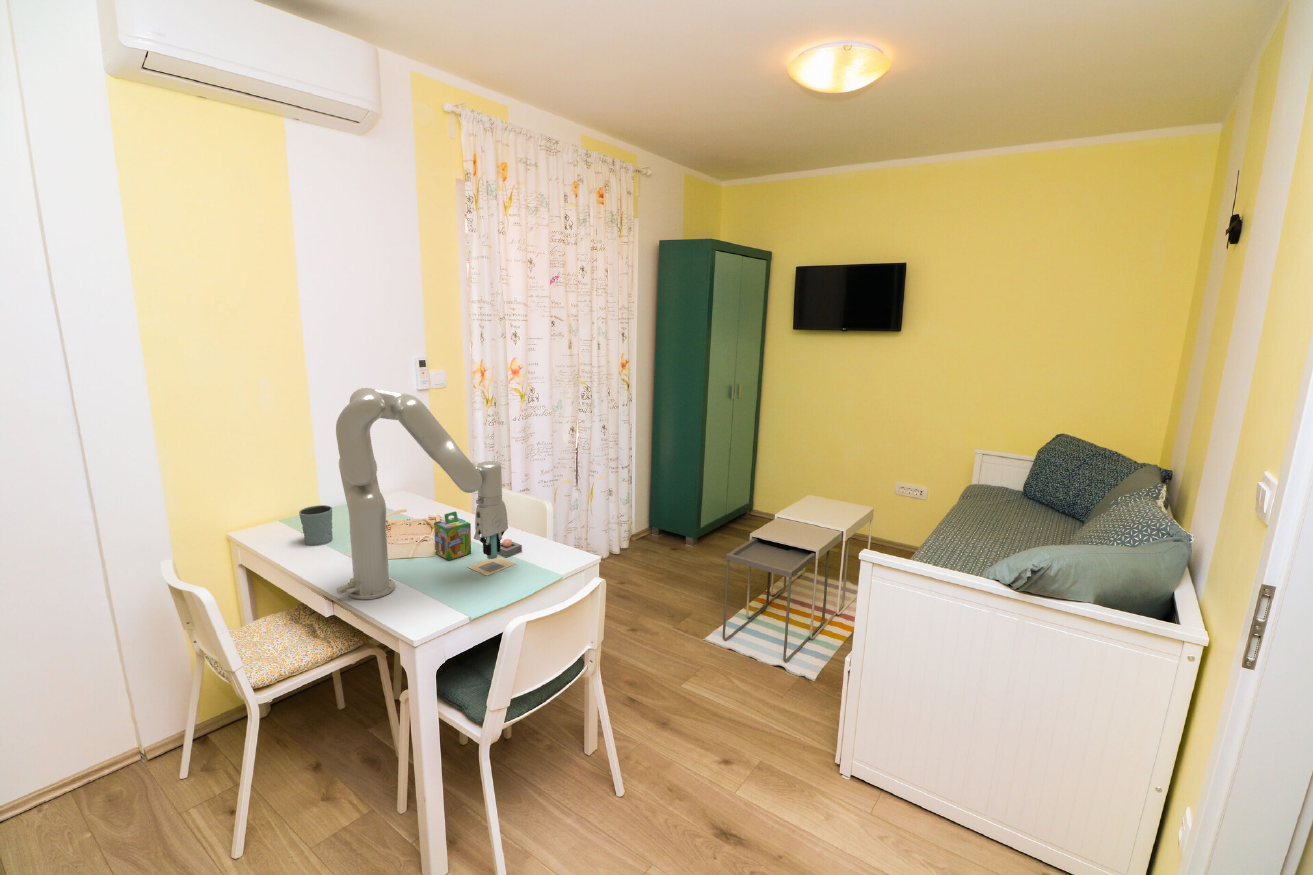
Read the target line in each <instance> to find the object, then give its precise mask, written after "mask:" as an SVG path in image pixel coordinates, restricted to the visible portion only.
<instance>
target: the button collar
mask: <svg viewBox="0 0 1313 875" xmlns="http://www.w3.org/2000/svg"><path fill="white" fill-rule="evenodd" d="M522 552H523V545H522V544H521V543H517V542H514V541H512V547H510V548H504V547H503V541H502V542H500V552H497V556H500V557H502V558H505V559H507V558H509V557H511V556H514V555H517V554H520V553H522Z"/></svg>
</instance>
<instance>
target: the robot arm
mask: <svg viewBox="0 0 1313 875" xmlns="http://www.w3.org/2000/svg"><path fill="white" fill-rule="evenodd" d="M379 419H385V420H393V421H398V422H399V423H400V424H401V425H402V427H404V429H405V430H406V432H407V433H409V434H410V436H411V437H412V438H413V439H414V441H416V443H417V444H418V445H419V446H420V447H421V449H422V450H423V451H424V452H425V453H426V454H427V455H428V457H430V458H431V459H432V460H433V461H434V462H436V464H438V465H439V467H440V468H442V470H443V471H444V472H445V473H446V474H447V475H448V476H449V477H450V479H451V481H452V482H453V483H454V484H455V486H456V487H457V488H459V490H460V491H462V492H464V493H465V494H472V493H475V492H477V499H475V503H476V508H475V520H474V529H475V530H474V531H475V533H474V535H473V539H474V540H476V541H480V543H482V552H483V554H484V555H486V556H487V555H488V556H490V555H491V544H489V539H490V536H492V535H495V534H497V552H500V543H501V540H502V539H503V535H504V534H505V532H506V531H507V530H508V529H509V523H508V522H509V521H508V512H507V508H506V507H507V506H506V504H505V501H504V500H503V487H502V486H503V482H502V481H503V480H502V465H501V464H500V463H499V462H497V461H494V460H493V461H490V460H487V461H483V462H471V460H470V459H469V458H468V456H467V455H466V454H465V453H464V452H463V450H461V448H460V447H459V445H457V443H456V441H455V440H454V439H453V438H452V436H451V435H450V434H449V433H448V431H447V430H446V429H445V428H444V427H443V425H442V424H441V423H440V422H439V421H438V419H437V418H436V417H435V416H434V414H433V413H432V412H431V410H429V409H428V408H427V406H426V405H425V403H423V401H421V400H420V399H418V398H417V397H416V396H414V395H412V394H408V393H407V394H406V393H400V392H393V391H387V390H382V389H377V388H371V387H363V388H362V387H361V388H359V389H357V390H355V391H353V393H352V394H351V395H350V398H349V403H348V404H347V405H345V407H344V408H343V409H342V411H341V412H340V414H339V416H338V418H337V420H336V424H335V434H336V435H335V437H336V442H337V448H338V449H337V450H338V454H339V459H338V467H339V468H338V469H339V472H340V473H339V474H340V477H341V478H340V479H341V482H342V488H343V492H344V497H345V501H346V505H347V510H348V517H349V535H350V548H351V561H352V574H353V576H352V578H350V579H349V582H348V583H346V585H341V586H339V587H337V588H336V592H337V594H338V595H340V594H344V593H346V595H348V596H350V597H351V598H352V599H355V600H373V599H379V598H381V597H384V596H386V595H388V594H390V593H392V592H393V591H394V590H395V588H396V583H395V581H394V580H393V579H392V578H390V572H389V569H390V568H389V555H388V554H389V553H388V539H387V505H386V504H387V503H386V501H385V498H384V496H383V494H382V492H381V490H380V486H379V481H378V476H377V472H378V465H377V464H378V463H377V461H376V459H375V456H374V450H373V445H372V438H371V429H372V426H373V424H374V423H375V422H376V421H377V420H379Z"/></svg>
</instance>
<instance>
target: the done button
mask: <svg viewBox="0 0 1313 875" xmlns="http://www.w3.org/2000/svg"><path fill="white" fill-rule="evenodd" d="M502 542H503V547H504V548H510V547H512V542H513V540H512V539H509V538H508V539H503V540H502Z"/></svg>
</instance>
